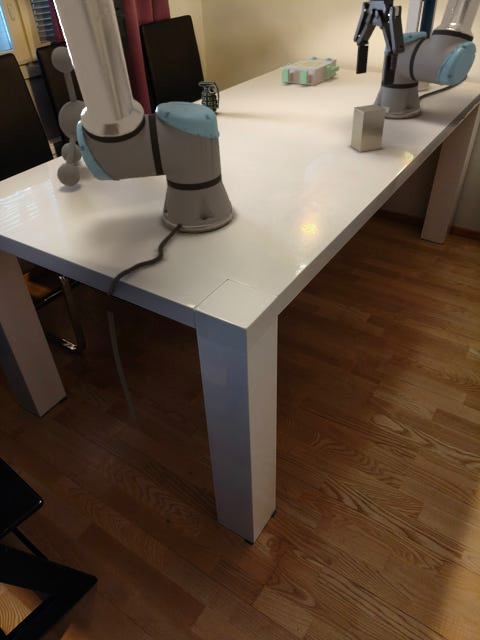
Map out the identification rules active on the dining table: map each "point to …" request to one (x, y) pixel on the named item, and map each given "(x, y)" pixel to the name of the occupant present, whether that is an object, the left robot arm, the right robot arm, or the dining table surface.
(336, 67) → the decorative block
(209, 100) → the grenade
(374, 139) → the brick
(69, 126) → the molecular model
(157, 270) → the dining table surface
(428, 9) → the electronic device
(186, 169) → the left robot arm
